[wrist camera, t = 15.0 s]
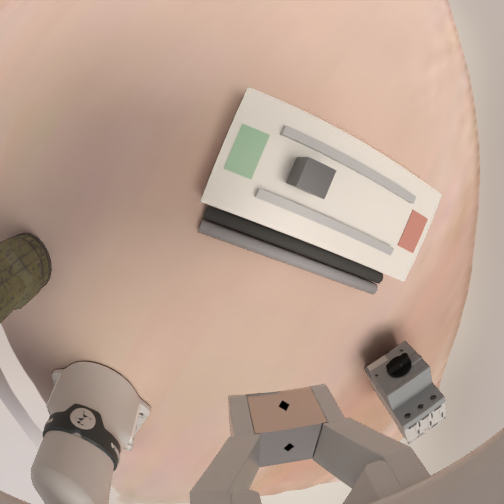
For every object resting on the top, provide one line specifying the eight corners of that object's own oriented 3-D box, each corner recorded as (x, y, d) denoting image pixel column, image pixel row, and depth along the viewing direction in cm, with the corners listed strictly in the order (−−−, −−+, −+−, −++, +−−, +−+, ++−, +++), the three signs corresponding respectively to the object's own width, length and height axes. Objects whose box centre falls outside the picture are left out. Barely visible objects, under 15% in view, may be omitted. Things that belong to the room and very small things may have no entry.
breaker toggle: (311, 194, 31) (324, 199, 27) (285, 183, 30) (296, 186, 26) (321, 168, 30) (336, 170, 26) (296, 157, 29) (308, 156, 25)
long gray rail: (368, 291, 41) (373, 296, 40) (198, 230, 36) (197, 233, 34) (379, 271, 41) (384, 275, 39) (208, 204, 35) (207, 206, 33)
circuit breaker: (391, 321, 44) (442, 375, 30) (406, 370, 48) (445, 419, 34) (354, 346, 44) (397, 408, 30) (374, 390, 49) (408, 445, 35)
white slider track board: (386, 269, 41) (407, 284, 35) (202, 195, 34) (199, 203, 29) (420, 189, 38) (446, 196, 32) (243, 96, 31) (249, 84, 26)
